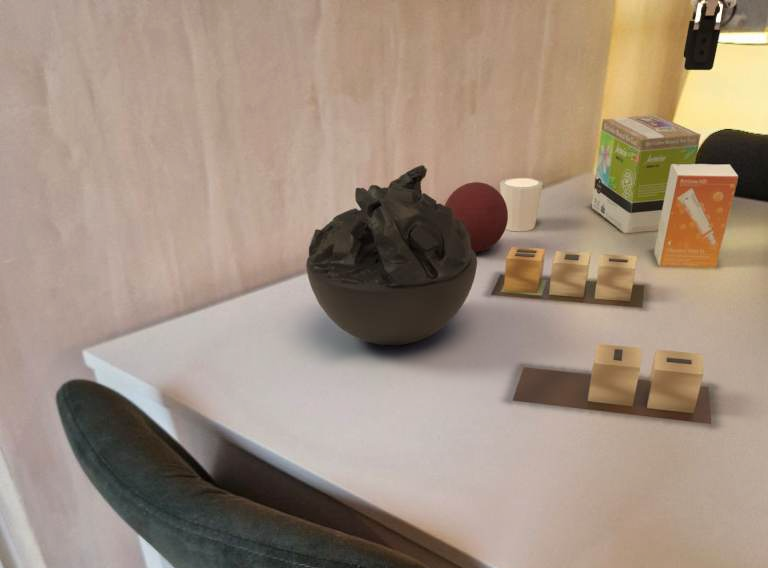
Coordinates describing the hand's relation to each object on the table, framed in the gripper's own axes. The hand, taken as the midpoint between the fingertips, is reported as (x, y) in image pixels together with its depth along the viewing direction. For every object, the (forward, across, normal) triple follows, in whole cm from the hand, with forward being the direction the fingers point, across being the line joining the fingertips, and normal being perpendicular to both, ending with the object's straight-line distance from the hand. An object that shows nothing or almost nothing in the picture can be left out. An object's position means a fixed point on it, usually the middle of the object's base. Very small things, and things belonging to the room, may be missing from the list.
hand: (696, 63), depth 94 cm
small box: (+26, +5, -4) cm, 27 cm away
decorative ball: (+26, +4, +28) cm, 38 cm away
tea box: (+26, +24, +4) cm, 36 cm away
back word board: (+26, -11, +12) cm, 31 cm away
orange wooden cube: (+26, -11, +18) cm, 33 cm away
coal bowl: (+26, -30, +31) cm, 50 cm away
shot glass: (+26, +17, +23) cm, 39 cm away
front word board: (+26, -39, +4) cm, 47 cm away
